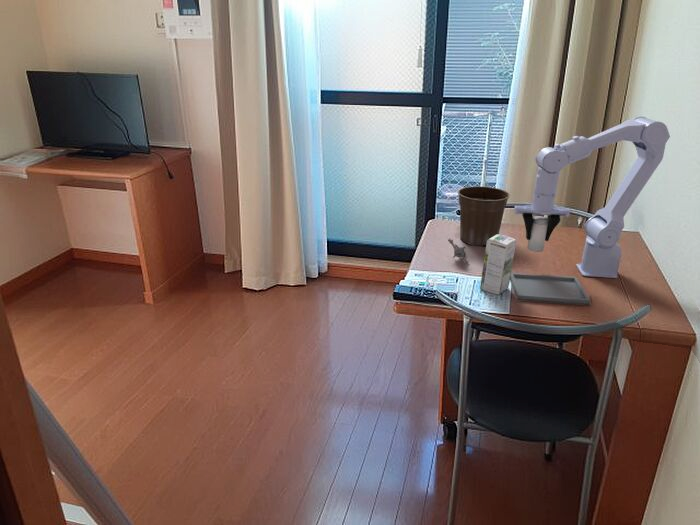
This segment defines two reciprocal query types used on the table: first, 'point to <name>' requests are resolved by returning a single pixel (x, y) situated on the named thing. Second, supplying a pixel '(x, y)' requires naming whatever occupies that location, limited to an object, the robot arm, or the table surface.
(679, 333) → the table surface
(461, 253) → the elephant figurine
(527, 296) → the tray
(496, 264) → the syrup box
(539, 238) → the block
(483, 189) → the plant pot
